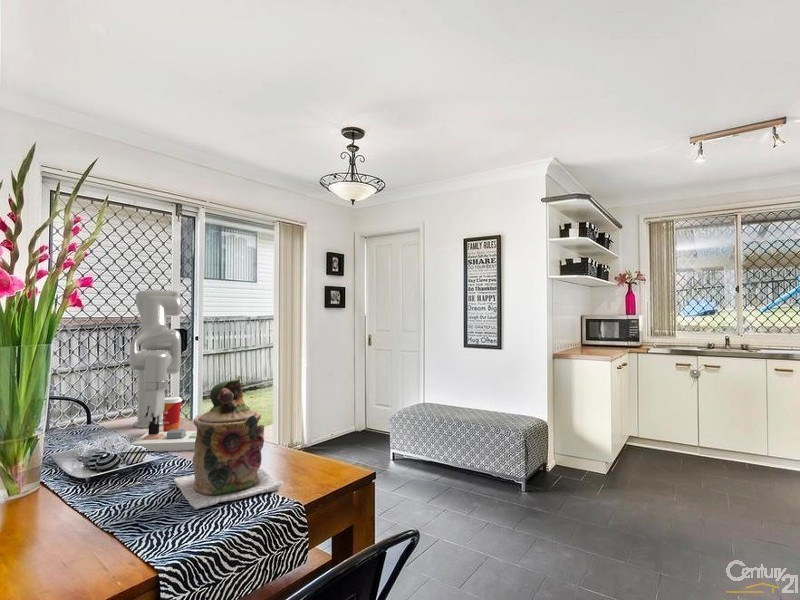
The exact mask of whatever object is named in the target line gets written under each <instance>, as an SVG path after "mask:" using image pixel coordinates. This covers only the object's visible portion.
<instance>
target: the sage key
mask: <svg viewBox="0 0 800 600" xmlns="http://www.w3.org/2000/svg"><path fill="white" fill-rule="evenodd" d="M196 437H197V433H193V434H192V435H190V436H189V438H196Z"/></svg>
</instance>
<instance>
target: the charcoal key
mask: <svg viewBox="0 0 800 600" xmlns="http://www.w3.org/2000/svg"><path fill="white" fill-rule="evenodd" d="M186 431H187V429H186V428H179V429H171V430H170V431H169V432H167V439H182V438H183V437H184V436H185V435H186Z"/></svg>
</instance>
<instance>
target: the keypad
mask: <svg viewBox="0 0 800 600" xmlns="http://www.w3.org/2000/svg"><path fill="white" fill-rule="evenodd" d="M148 432H149V431H147V432H146V433H145V434H143V435H142V436H140V437H139V438H137V439H135V440H134V441H133V442H131V443H130V445H134V446H143V447H146V448H147V450H148V451H155V452H175V451H177V452H178V451H179V452H181V451H194V448H195V440H196V438H189V436H190V435H192V434H193V433H197V430H186V435H185V436H184V437H183V438H182V439H167V432H164V431H159V433H158V434H164V435H163V437H162V438H161V439H154V440H144V437H146V436H147V435H148ZM130 445H129V446H130Z"/></svg>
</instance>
